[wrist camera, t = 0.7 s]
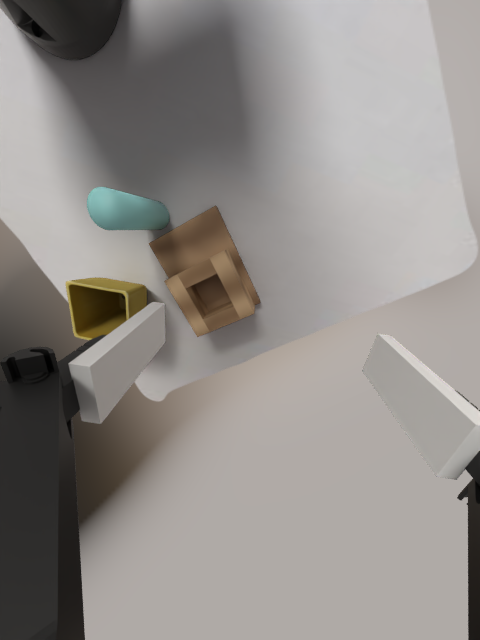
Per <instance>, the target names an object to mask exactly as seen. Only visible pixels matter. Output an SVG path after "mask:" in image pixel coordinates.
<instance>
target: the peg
mask: <svg viewBox="0 0 480 640" xmlns="http://www.w3.org/2000/svg"><path fill="white" fill-rule="evenodd" d="M87 208H88V212H89V215H90V217H91V218H92V220H93V221H94V222H95V223H96V224H97V225H98V226H99V227H101V228H103V229H106V230H160V229H163V228H165V227H166V226H167V224H168V222H169V213H168V210H167V208H166V207H165V205H164V204H162V203H161V202H159V201H155V200H151V199H147V198H144V197H140V196H136V195H132V194H129V193H125V192H121V191H117V190H114V189H110V188H106V187H97V188H95V189H93V190H92V191H91V192H90V194H89V196H88V199H87Z"/></svg>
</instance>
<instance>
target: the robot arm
mask: <svg viewBox="0 0 480 640" xmlns="http://www.w3.org/2000/svg"><path fill="white" fill-rule="evenodd" d="M121 1H122V0H0V8H1V9H2V10H3V12H4V13H5V14H6V15H7V17H8V18H9V19H10V20H11V21H12V22H13V23H14V24H15V25H16V26H17V27H18V28H19V29H20V30H21V31H22V32H23V33H25V34H26V35H27V36H28V37H29V38H31V39H32V40H33V41H34V42H35V43H37V44H38V45H39V46H40V47H42V48H43V49H44V50H46V51H48V52H49V53H51V54H53V55H55V56H58V57H61V58H65V59H82V58H85V57H88V56H90V55H92V54H94V53H95V52H97V51H98V50H99V49H100V48H101V47H102V46H103V45H104V44H105V43H106V42H107V40H108V39H109V37H110V35H111V34H112V32H113V30H114V27H115V25H116V22H117V19H118V16H119V12H120V7H121ZM165 342H166V335H165V303H159V302H152V303H150V304H149V305H147V306H146V307H145V308H143V309H142V310H141V311H139V312H138V313H137V314H135V315H134V316H132V317H131V318H130V319H128V320H127V321H126V322H124V323H123V324H122V325H120V326H119V327H117V328H116V329H115V330H113V331H112V332H111V333H109V334H108V335H101V336H98V337H95V338H93V339H91V340H89V341H88V342H87V343H85V344H84V345H83V346H81V347H79V348H78V349H77V350H76V351H73V352H72V353H71V354H69V355H68V356H66V357H65V358H64V359H62V360H60V361H59V362H57V361H56V357H55V354H54V351H53V350H52V349H50V348H47V347H34V348H28V349H23V350H20V351H17V352H15V353H12V354H10V355H8V356H7V357H5V358H4V359H3V360H2V361H1V366H2V369H3V371H4V374H5V376H6V378H7V381H0V640H85V635H84V616H83V599H82V580H81V561H80V542H79V524H78V506H77V487H76V470H75V453H74V452H75V451H74V432H73V422H72V417H73V416H74V415H75V414H76V413H77V412H78V411H80V415H81V419H82V421H86V422H92V423H99V424H101V423H102V421H103V420H104V419H105V418H106V417H107V415H108V414H109V413H110V412H111V410H112V409H113V408H114V406H115V405H116V404H117V403H118V401H119V400H120V399H121V398H122V396H123V395H124V394H125V393H126V391H127V390H128V389H129V388H130V386H131V385H132V384H133V382H134V381H135V380H136V379H137V377H138V376H139V375H140V374H141V372H142V371H143V370H144V369H145V367H146V366H147V365H148V364H149V362H150V361H151V360H152V358H153V357H154V356H155V355H156V353H157V352H158V351H159V350H160V348H161V347H162V346H163V345H164V343H165ZM362 371H363V373H364V374H365V376H366V377H367V378H368V380H369V381H370V383H371V384H372V386H373V387H374V388H375V390H376V391H377V392H378V394H379V396H380V397H381V399H382V400H383V401H384V403H385V404H386V406H387V407H388V409H389V410H390V411H391V413H392V414H393V416H394V417H395V419H396V420H397V421H398V423H399V424H400V426H401V427H402V428H403V430H404V431H405V433H406V434H407V436H408V437H409V439H410V440H411V441H412V443H413V444H414V446H415V447H416V449H417V450H418V451H419V453H420V454H421V456H422V457H423V458H424V460H425V461H426V463H427V464H428V466H429V467H430V469H431V470H432V471H433V473H434V474H435V476H436V477H443V478H449V479H455V480H457V478H458V477H459V476H460V475H461V474H462V472H463V471H464V470H465V469H466V470H467V471H468V473H469V474H470V475H471V476H472V477H473V479H472V481H471V482H470V483H469V484H468V485H467V486H466V487H465V488H464V489H463V490H462V492H461V493H460V494H459V495H458V497H457V498H458V499H459V500H462V499H463V498H464V497H468V503H467V505H468V612H469V613H468V628H469V629H468V630H469V631H468V632H469V640H480V410H478V408H477V407H476V406H474V405H473V404H472V403H469V401H468V400H467V399H466V398H465V397H464V396H462V395H461V394H460V393H459V392H457V391H456V390H454V389H453V388H451V387H450V386H449V385H448V384H447V383H446V382H444V381H443V380H442V379H441V378H440V377H439V376H437V375H436V374H435V373H434V372H433V371H432V370H430V369H429V368H428V367H427V366H426V365H424V364H423V363H422V362H421V361H420V360H419V359H417V358H416V357H415V356H414V355H413V354H412V353H410V352H409V351H408V350H407V349H406V348H405V347H403V346H402V345H401V344H400V343H399V342H397V341H396V340H395V339H394V338H393V337H392V336H390V335H384V334H377V336H376V339H375V341H374V344H373V346H372V348H371V351H370V353H369V355H368V358H367V360H366V362H365V365H364V367H363V370H362Z"/></svg>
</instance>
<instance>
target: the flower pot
mask: <svg viewBox="0 0 480 640" xmlns="http://www.w3.org/2000/svg"><path fill="white" fill-rule="evenodd" d="M66 290H67V296H68V301H69V307H70V313H71V319H72V326H73V332H74V335H75V337H77V338H81V339H86V340H91V339H93V338H95V337H98V336H101V335H108V334H109V333H111V332H112V331H113V330H115V329H116V328H117V327H119V326H120V325H122V324H123V323H124V322H126V321H127V320H128V319H130V318H131V317H132V316H134V315H135V314H137V313H138V312H139V311H141V310H142V309H143V308H145V307H146V306H147V289H146V286H144V285H141V284H135V283H129V282H124V281H118V280H113V279H107V278H88V279H79V280H72V281H67V282H66ZM123 295H124V296H125V298H123Z"/></svg>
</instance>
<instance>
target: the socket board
mask: <svg viewBox="0 0 480 640" xmlns="http://www.w3.org/2000/svg"><path fill="white" fill-rule="evenodd" d="M149 245H150V247H151V248H152V250H153V252H154V254H155V255H156V257H157V259H158V260H159V262H160V264H161V266H162V267H163V269H164V271H165V272H166V274H167V276H168V277H169V279H167V280H165V281H164V282H165V283H166V285H167V287H168V288H169V290H170V292H171V293H172V295H173V297H174V298H175V300H176V302H177V303H178V305H179V307H180V309H181V310H182V312H183V314H184V315H185V317H186V319H187V320H188V322H189V324H190V325H191V327H192V329H193V330H194V332H195V334H196V335H197V337H199V336H201V335H204V334H206V333H209V332H211V331H214V330H216V329H218V328H221V327H223V326H226V325H228V324H230V323H233V322H235V321H238V320H240V319H243V318H245V317H247V316H250V315H252V314H254V310H255V305H257V304H259V303H260V299H259V297H258V295H257V293H256V290H255V288H254V286H253V284H252V282H251V280H250V277H249V275H248V273H247V271H246V269H245V267H244V264H243V262H242V260H241V258H240V256H239V254H238V251H237V249H236V247H235V245H234V243H233V240H232V238H231V236H230V234H229V232H228V230H227V227H226V225H225V223H224V221H223V219H222V217H221V214H220V212H219V210H218V208H217V206H214V207H212V208H211V209H209V210H207V211H205V212H204V213H202V214H200V215H198V216H196V217H195V218H193V219H191V220H189V221H188V222H186V223H184V224H182V225H181V226H179V227H177V228H175V229H173V230H172V231H170V232H168V233H166V234H165V235H163V236H161V237H159V238H158V239H156V240H154V241H152V242H150V243H149Z"/></svg>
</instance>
